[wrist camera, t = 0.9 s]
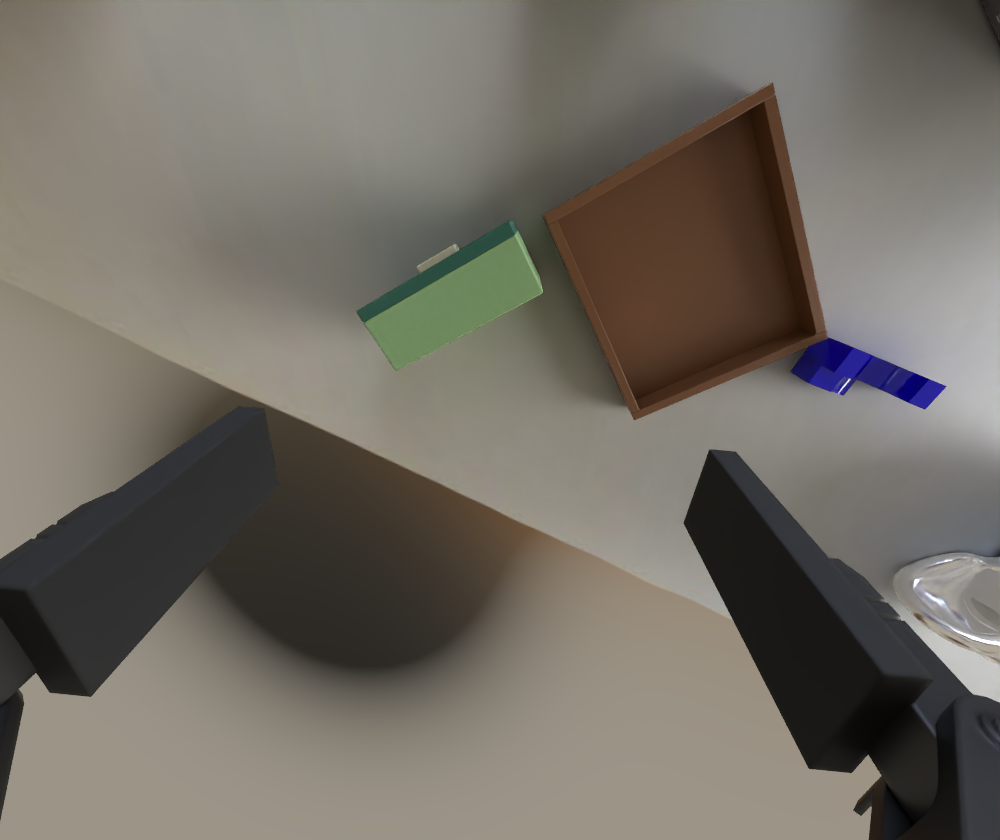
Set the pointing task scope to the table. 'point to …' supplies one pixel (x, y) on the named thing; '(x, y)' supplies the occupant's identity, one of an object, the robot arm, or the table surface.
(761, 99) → the tray
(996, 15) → the graphics card box
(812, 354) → the cable holder
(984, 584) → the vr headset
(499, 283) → the box
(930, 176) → the table surface
